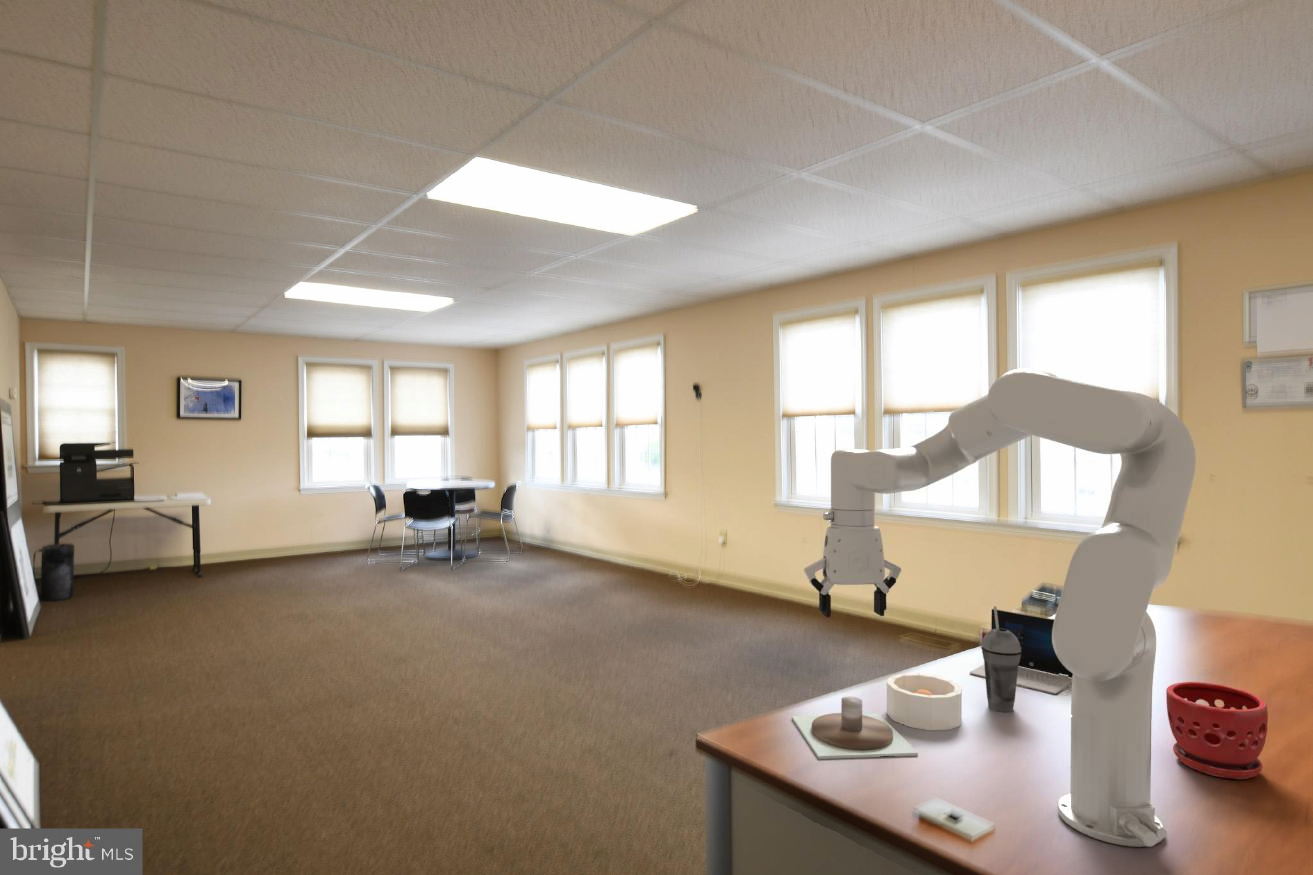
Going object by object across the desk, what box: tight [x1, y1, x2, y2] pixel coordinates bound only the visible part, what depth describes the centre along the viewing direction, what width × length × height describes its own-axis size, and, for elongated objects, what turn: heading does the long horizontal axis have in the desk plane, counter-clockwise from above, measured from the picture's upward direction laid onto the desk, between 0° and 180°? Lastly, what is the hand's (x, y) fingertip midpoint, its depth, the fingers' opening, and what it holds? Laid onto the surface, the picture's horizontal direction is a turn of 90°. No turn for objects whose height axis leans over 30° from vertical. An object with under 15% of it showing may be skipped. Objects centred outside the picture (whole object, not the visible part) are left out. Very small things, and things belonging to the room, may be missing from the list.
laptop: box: [969, 608, 1073, 695], centre depth 163 cm, size 18×12×13 cm
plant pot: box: [1165, 681, 1269, 781], centre depth 120 cm, size 13×13×12 cm
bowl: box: [886, 672, 963, 731], centre depth 141 cm, size 13×13×6 cm
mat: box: [791, 713, 919, 760], centre depth 132 cm, size 17×17×1 cm
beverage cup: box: [980, 605, 1022, 713], centre depth 145 cm, size 7×7×20 cm
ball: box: [915, 690, 932, 695], centre depth 141 cm, size 4×4×4 cm
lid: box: [812, 696, 893, 751], centre depth 132 cm, size 14×14×6 cm
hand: (852, 614), depth 131 cm, fingers open, 9 cm apart
